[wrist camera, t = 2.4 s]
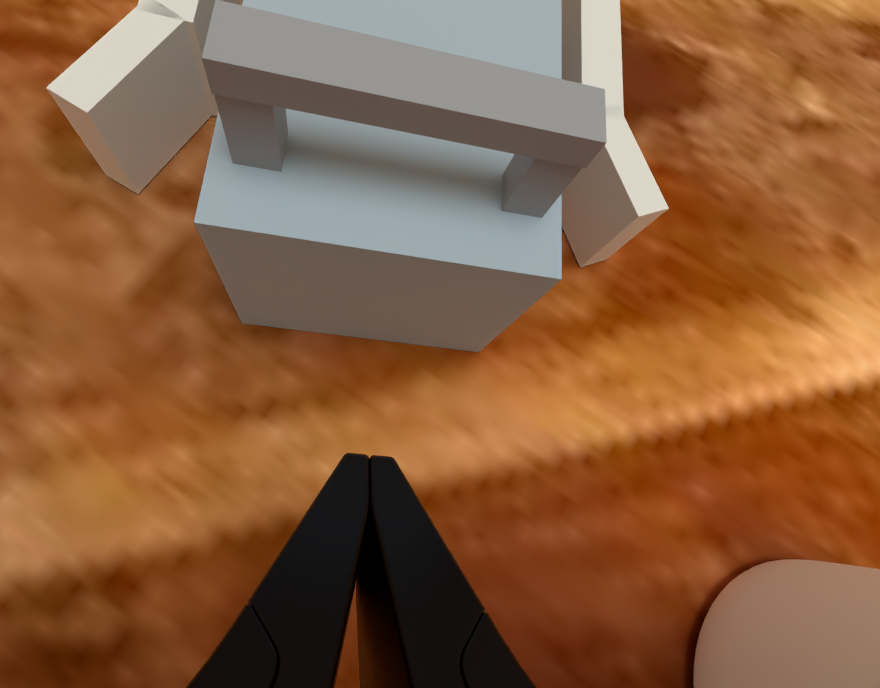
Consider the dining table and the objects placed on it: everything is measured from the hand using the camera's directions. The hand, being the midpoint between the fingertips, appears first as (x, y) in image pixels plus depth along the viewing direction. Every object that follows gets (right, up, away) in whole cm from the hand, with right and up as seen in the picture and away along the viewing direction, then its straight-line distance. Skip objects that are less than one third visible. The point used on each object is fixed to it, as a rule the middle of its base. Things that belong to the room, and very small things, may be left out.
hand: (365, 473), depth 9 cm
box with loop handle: (-1, +10, +11) cm, 14 cm away
